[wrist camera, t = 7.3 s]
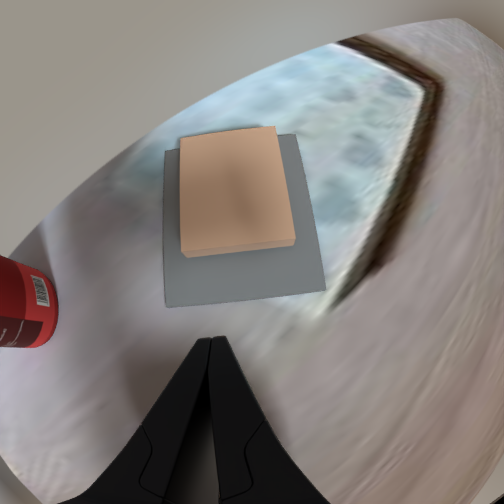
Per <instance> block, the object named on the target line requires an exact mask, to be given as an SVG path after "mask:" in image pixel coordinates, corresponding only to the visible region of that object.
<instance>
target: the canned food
mask: <svg viewBox="0 0 504 504" xmlns="http://www.w3.org/2000/svg"><path fill="white" fill-rule="evenodd" d="M57 319H58V301H57V296H56V292H55V290H54V287H53V285H52V284H51V282H50V280H49V279H48V278H47V277H46V276H45V275H44V274H43V273H41V272H40V271H39V270H37V269H34V268H31V267H29V266H26V265H23V264H21V263H18V262H16V261H13V260H11V259H8V258H6V257H3V256H1V255H0V347H18V348H35V347H38V346H41V345H43V344H45V343H46V342H47V341H48V340H49V339H50V338H51V337H52V335H53V333H54V331H55V328H56V325H57Z"/></svg>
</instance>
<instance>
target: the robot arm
mask: <svg viewBox="0 0 504 504" xmlns="http://www.w3.org/2000/svg"><path fill="white" fill-rule="evenodd" d="M141 424H142V425H140V426H139V427H138V429H137V430H136V432H135V433H134V435H133V436H132V437H131V439H130V440H129V442H128V443H127V444H126V446H125V447H124V448H123V450H122V451H121V452H120V453H119V454H118V456H117V457H116V458H115V459H114V460H113V462H112V463H111V464H110V465H109V466H108V467H107V468H106V470H105V471H104V472H103V473H102V474H101V475H100V476H99V477H98V478H97V480H96V481H95V482H94V483H93V484H92V485H91V486H90V487H89V488H88V489H87V490H86V491H85V492H83V493H82V494H80V495H79V496H77V497H75V498H72V499H70V500H67V501H64V502H61V503H58V504H220V502H221V504H330V503H329V502H328V501H327V500H326V499H325V498H324V497H323V495H322V494H321V493H320V492H319V491H318V490H317V489H316V488H315V486H314V485H313V484H312V483H311V482H310V481H309V479H308V478H307V477H306V476H305V475H304V474H303V472H302V471H301V470H300V469H299V468H298V466H297V465H296V464H295V463H294V461H293V460H292V459H291V457H290V456H289V455H288V453H287V452H286V451H285V449H284V448H283V447H282V445H281V443H280V442H279V440H278V438H277V437H276V435H275V433H274V432H273V430H272V428H271V426H270V424H269V422H268V421H267V420H266V417H265V415H264V413H263V411H262V409H261V407H260V405H259V403H258V401H257V400H256V398H255V396H254V394H253V392H252V390H251V388H250V386H249V384H248V381H247V379H246V377H245V375H244V373H243V371H242V369H241V367H240V365H239V363H238V361H237V359H236V357H235V355H234V352H233V350H232V348H231V346H230V344H229V342H228V340H227V338H226V336H217V337H213V338H210V337H208V338H200V339H198V340H197V341H196V343H195V344H194V346H193V347H192V349H191V350H190V352H189V353H188V355H187V356H186V358H185V359H184V361H183V362H182V364H181V365H180V367H179V368H178V369H177V371H176V372H175V374H174V375H173V377H172V378H171V380H170V381H169V383H168V384H167V386H166V387H165V389H164V390H163V392H162V393H161V395H160V396H159V398H158V399H157V401H156V402H155V404H154V405H153V407H152V408H151V410H150V411H149V413H148V414H147V416H146V417H145V419H144V420H143V422H142V423H141ZM219 491H220V498H218V496H219ZM490 504H504V494H502V495H501V496H500V497H498V498H497V499H496V500H494V501H493V502H492V503H490Z"/></svg>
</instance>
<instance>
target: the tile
mask: <svg viewBox="0 0 504 504" xmlns="http://www.w3.org/2000/svg"><path fill="white" fill-rule="evenodd" d="M180 235H181V252H182V253H183V254H184V255H185V256H186V257H187V258H190V257H199V256H208V255H216V254H225V253H233V252H242V251H251V250H259V249H268V248H277V247H285V246H293V245H294V242H295V239H296V237H295V231H294V224H293V218H292V213H291V207H290V201H289V195H288V190H287V184H286V179H285V174H284V168H283V163H282V158H281V153H280V148H279V143H278V138H277V133H276V128H275V126H269V127H258V128H248V129H239V130H231V131H224V132H216V133H210V134H203V135H197V136H191V137H185V138H181V140H180Z"/></svg>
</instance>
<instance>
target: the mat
mask: <svg viewBox="0 0 504 504" xmlns="http://www.w3.org/2000/svg"><path fill="white" fill-rule="evenodd" d="M277 138H278V143H279V148H280V153H281V158H282V163H283V168H284V174H285V179H286V184H287V190H288V195H289V201H290V207H291V213H292V218H293V224H294V231H295V237H296V239H295V242H294V245H293V246H285V247H277V248H268V249H259V250H251V251H242V252H233V253H225V254H216V255H208V256H199V257H190V258H187V257H186V256H185V255H184V254H183V253H182V252H181V235H180V149H174V150H169V151H165V166H164V196H163V249H164V280H165V299H166V307H167V308H170V307H183V306H195V305H206V304H217V303H227V302H237V301H246V300H255V299H264V298H272V297H280V296H288V295H296V294H303V293H311V292H318V291H325V290H326V285H325V278H324V272H323V266H322V260H321V254H320V248H319V242H318V237H317V231H316V226H315V221H314V216H313V210H312V205H311V201H310V196H309V191H308V186H307V182H306V177H305V172H304V168H303V164H302V159H301V155H300V151H299V147H298V142H297V138H296V134H295V135H281V136H277Z"/></svg>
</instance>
